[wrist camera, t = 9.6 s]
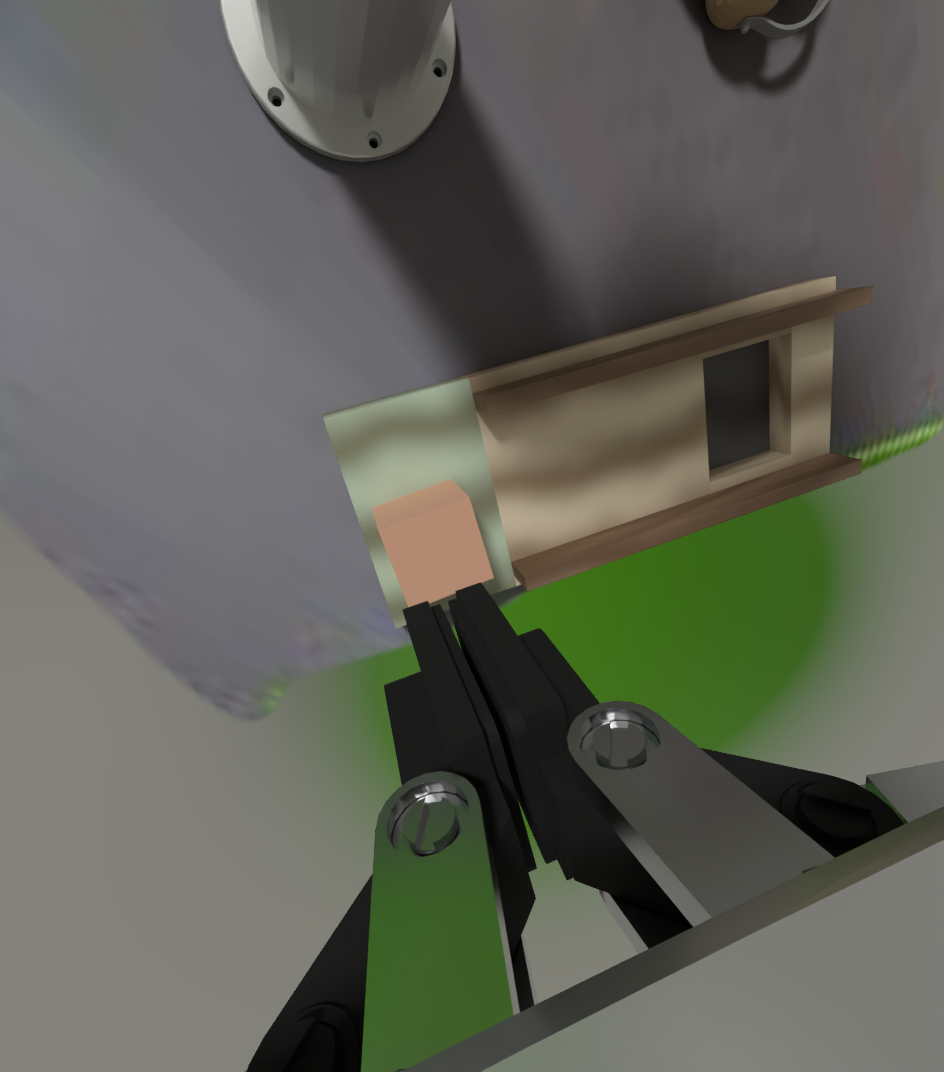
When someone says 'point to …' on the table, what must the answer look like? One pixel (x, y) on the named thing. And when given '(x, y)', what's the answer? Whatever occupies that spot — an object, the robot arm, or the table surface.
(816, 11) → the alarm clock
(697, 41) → the table surface
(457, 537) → the block
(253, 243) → the table surface
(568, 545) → the track
